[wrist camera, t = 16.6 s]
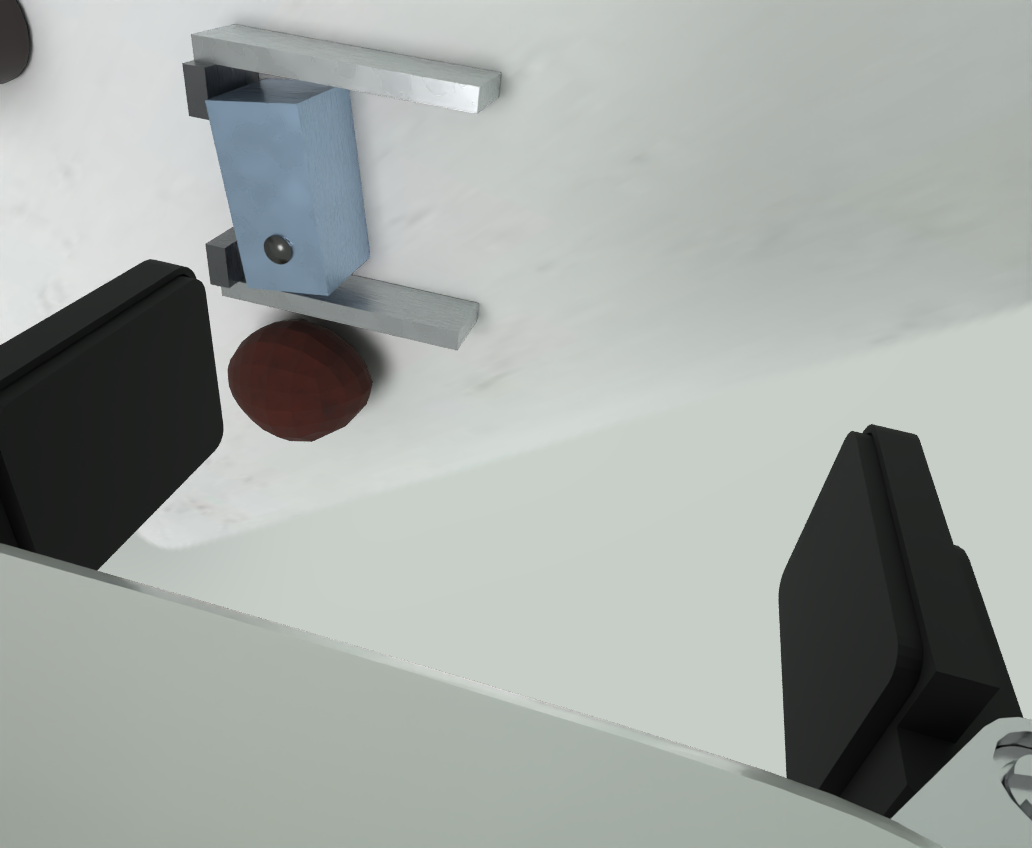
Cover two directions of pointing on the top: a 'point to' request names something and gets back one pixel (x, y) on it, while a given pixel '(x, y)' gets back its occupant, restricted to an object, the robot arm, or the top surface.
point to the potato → (298, 380)
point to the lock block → (292, 183)
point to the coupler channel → (246, 51)
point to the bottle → (12, 41)
